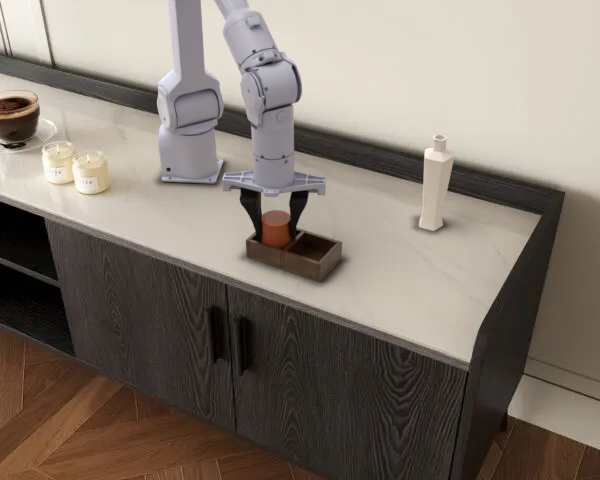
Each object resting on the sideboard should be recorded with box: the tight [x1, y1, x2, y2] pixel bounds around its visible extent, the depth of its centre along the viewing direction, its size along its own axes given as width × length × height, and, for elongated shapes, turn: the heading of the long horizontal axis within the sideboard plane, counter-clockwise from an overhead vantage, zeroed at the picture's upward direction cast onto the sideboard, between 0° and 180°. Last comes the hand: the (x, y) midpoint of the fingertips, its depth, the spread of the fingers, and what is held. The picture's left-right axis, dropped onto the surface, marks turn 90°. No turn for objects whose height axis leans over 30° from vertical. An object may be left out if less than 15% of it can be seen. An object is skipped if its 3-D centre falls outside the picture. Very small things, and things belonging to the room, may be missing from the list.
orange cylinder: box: [261, 209, 291, 249], centre depth 112 cm, size 4×4×4 cm
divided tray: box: [245, 227, 343, 283], centre depth 113 cm, size 13×7×3 cm, turn 60°
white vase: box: [418, 133, 455, 232], centre depth 116 cm, size 5×4×15 cm
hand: (276, 232), depth 112 cm, fingers closed on orange cylinder, 4 cm apart
